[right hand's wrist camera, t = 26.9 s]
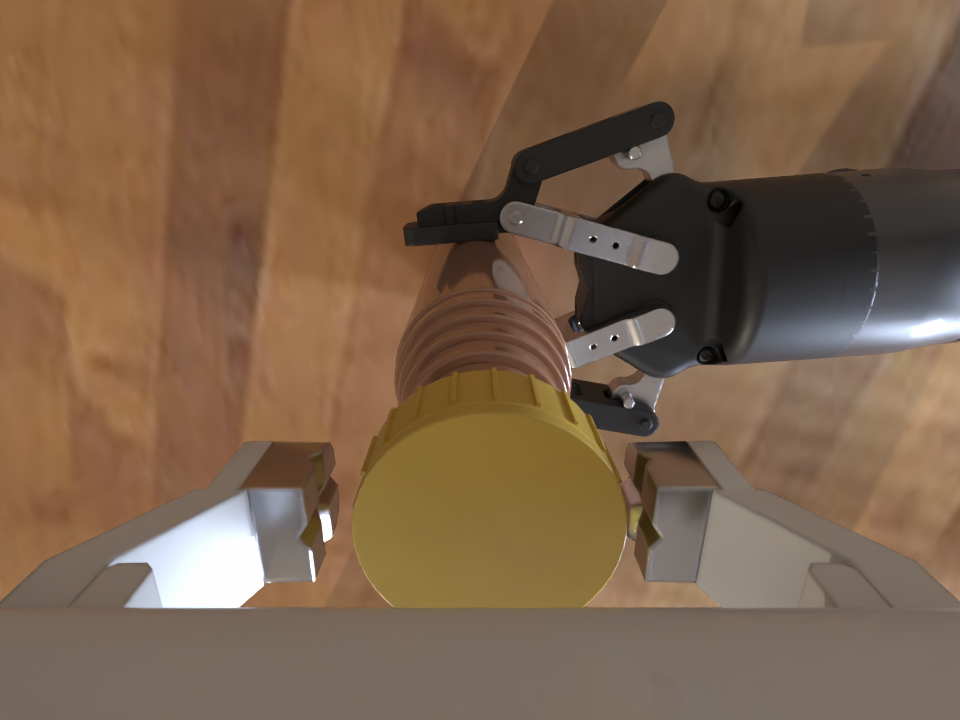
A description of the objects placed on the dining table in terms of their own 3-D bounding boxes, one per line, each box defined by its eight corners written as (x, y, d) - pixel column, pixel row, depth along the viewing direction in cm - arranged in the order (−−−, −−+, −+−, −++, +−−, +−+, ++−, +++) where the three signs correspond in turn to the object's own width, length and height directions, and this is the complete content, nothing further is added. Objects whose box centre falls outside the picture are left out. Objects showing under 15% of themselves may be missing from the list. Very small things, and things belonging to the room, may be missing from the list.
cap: (332, 399, 9) (305, 448, 8) (582, 337, 9) (604, 375, 7) (408, 591, 11) (398, 663, 9) (625, 544, 10) (650, 611, 9)
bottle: (495, 202, 28) (552, 320, 8) (536, 280, 29) (667, 543, 10) (417, 246, 29) (293, 454, 9) (460, 320, 30) (438, 642, 10)
